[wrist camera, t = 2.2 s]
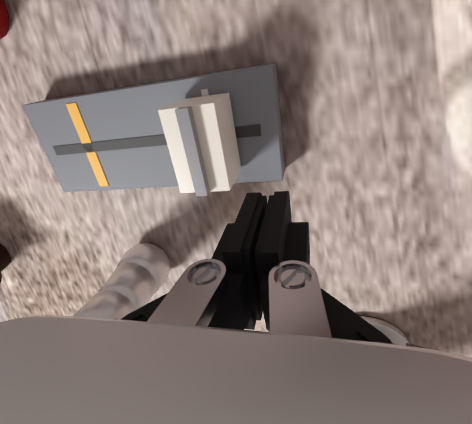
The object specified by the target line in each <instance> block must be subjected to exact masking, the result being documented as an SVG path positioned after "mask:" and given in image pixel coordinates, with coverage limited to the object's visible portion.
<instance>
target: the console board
mask: <svg viewBox="0 0 472 424" xmlns="http://www.w3.org/2000/svg"><path fill="white" fill-rule="evenodd" d="M223 93H229V95H230V102H231V108H232V114H233V121H234V127H235V133H236V140H237V146H238V152H239V158H240V165H241V172H240V173H239V175H238V177H237V179H236V181H235V183H245V182H264V181H282V180H283V176H284V171H285V162H284V150H283V138H282V126H281V114H280V102H279V90H278V78H277V66H276V63H271V64H264V65H258V66H252V67H246V68H240V69H233V70H227V71H221V72H215V73H209V74H203V75H196V76H190V77H184V78H178V79H172V80H166V81H159V82H153V83H147V84H141V85H135V86H129V87H122V88H116V89H110V90H104V91H98V92H92V93H85V94H79V95H73V96H67V97H61V98H55V99H48V100H43V101H39V102H35V103H31V104H26V105H22V106H23V108H24V110H25V112H26V114H27V117H28V119H29V121H30V123H31V125H32V127H33V129H34V131H35V133H36V135H37V137H38V139H39V141H40V143H41V145H42V147H43V150H44V152H45V154H46V156H47V158H48V160H49V162H50V164H51V166H52V168H53V170H54V172H55V174H56V176H57V178H58V181H59V183H60V185H61V187H62V189H63V191H64V192H76V191H95V190H114V189H133V188H151V187H170V186H179V185H178V182H177V178H176V174H175V171H174V167H173V164H172V160H171V156H170V153H169V149H168V145H167V142H166V138H165V134H164V131H163V127H162V124H161V120H160V116H159V113H158V110H160V109H162V108H164V107H166V106H168V105H170V104H172V103H174V102H176V101H178V100H180V99H187V98H194V97H201V96H208V95H216V94H223Z"/></svg>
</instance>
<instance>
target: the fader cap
mask: <svg viewBox="0 0 472 424" xmlns="http://www.w3.org/2000/svg"><path fill="white" fill-rule="evenodd" d="M158 113H159V116H160V120H161V124H162V127H163V131H164V134H165V138H166V142H167V145H168V149H169V153H170V156H171V160H172V164H173V167H174V171H175V174H176V178H177V182H178V185H179V189H180V193H192V192H195V194H196V196H208V194H209V193H210V192H214V191H230V190H231V188H232V186H233V184H234V183H235V181H236V179H237V177H238V175H239V173H240V172H241V165H240V158H239V152H238V146H237V140H236V133H235V127H234V121H233V114H232V108H231V102H230V95H229V93H223V94H216V95H208V96H201V97H194V98H187V99H180V100H178V101H176V102H174V103H172V104H170V105H168V106H166V107H164V108H162V109H160V110H158Z"/></svg>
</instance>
